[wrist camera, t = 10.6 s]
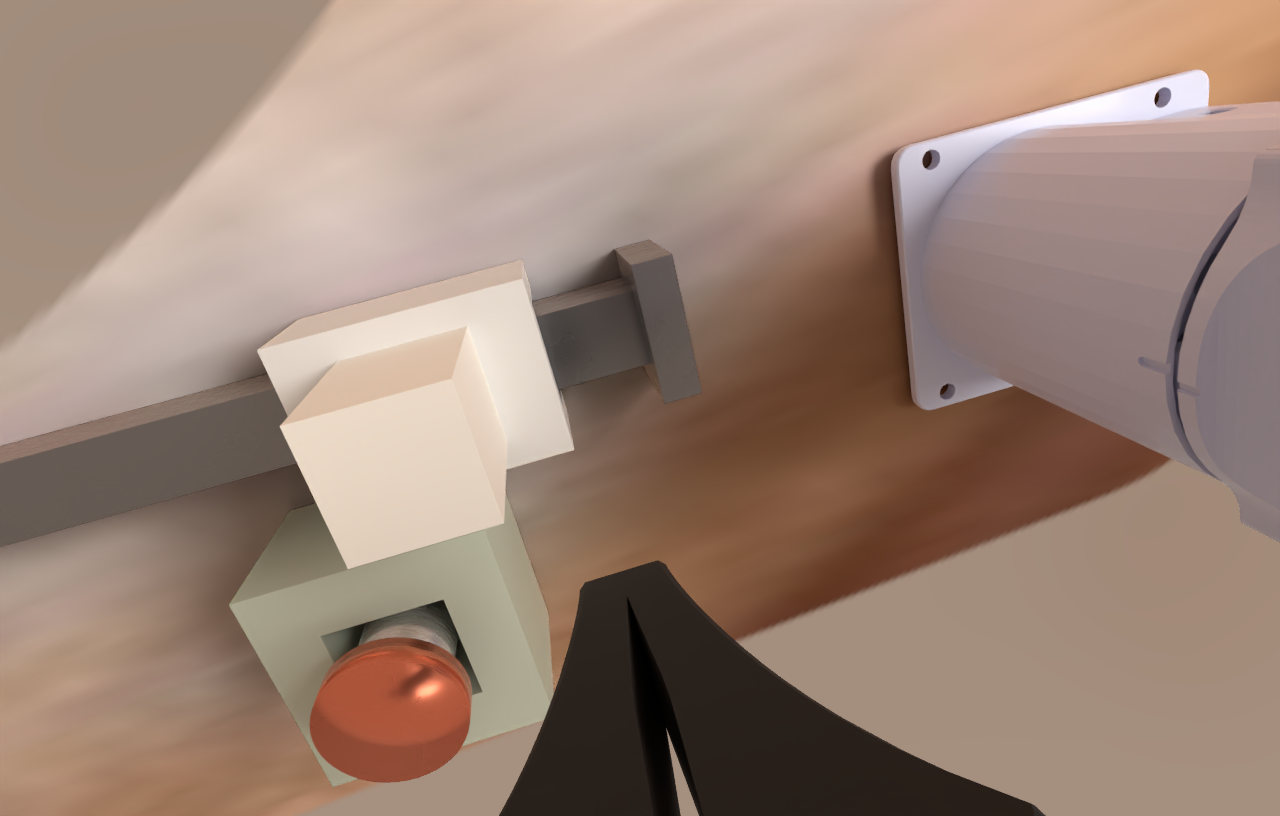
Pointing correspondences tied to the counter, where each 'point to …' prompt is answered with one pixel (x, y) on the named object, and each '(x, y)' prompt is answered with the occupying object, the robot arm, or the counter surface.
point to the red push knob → (395, 699)
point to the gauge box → (348, 598)
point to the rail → (252, 414)
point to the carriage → (418, 409)
